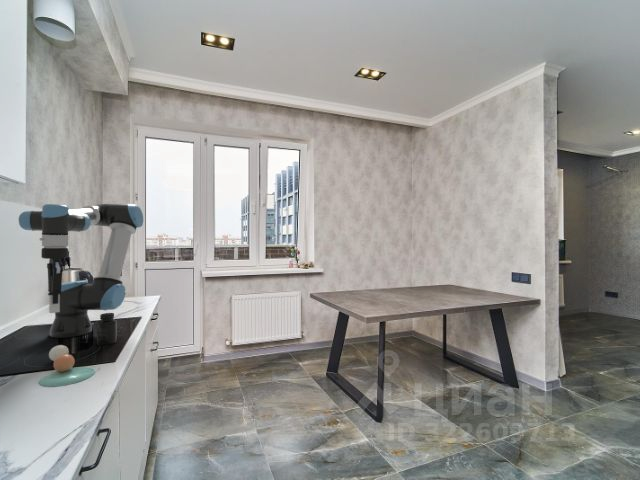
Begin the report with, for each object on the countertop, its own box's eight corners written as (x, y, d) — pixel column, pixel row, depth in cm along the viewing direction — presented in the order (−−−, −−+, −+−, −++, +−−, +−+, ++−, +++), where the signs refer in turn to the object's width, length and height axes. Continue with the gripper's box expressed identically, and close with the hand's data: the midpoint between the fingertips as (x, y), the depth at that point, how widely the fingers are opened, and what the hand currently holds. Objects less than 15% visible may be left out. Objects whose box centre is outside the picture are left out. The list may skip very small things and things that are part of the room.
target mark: (35, 376, 103) (35, 375, 103) (88, 364, 113) (88, 363, 113) (43, 391, 93) (43, 390, 93) (100, 376, 104) (100, 375, 104)
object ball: (53, 353, 105) (55, 368, 102) (74, 349, 109) (77, 363, 106) (51, 362, 107) (53, 377, 105) (72, 357, 111) (74, 372, 109)
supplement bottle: (120, 341, 137) (120, 313, 137) (103, 346, 131) (104, 316, 131) (109, 339, 140) (110, 311, 140) (93, 344, 134) (93, 314, 134)
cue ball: (51, 346, 112) (51, 363, 111) (71, 343, 116) (70, 359, 115) (47, 346, 115) (46, 363, 114) (66, 344, 120) (65, 359, 118)
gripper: (38, 246, 120) (37, 310, 120) (44, 248, 111) (44, 317, 111) (64, 246, 125) (63, 307, 126) (72, 247, 117) (71, 313, 117)
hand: (54, 312), depth 118 cm, fingers closed
